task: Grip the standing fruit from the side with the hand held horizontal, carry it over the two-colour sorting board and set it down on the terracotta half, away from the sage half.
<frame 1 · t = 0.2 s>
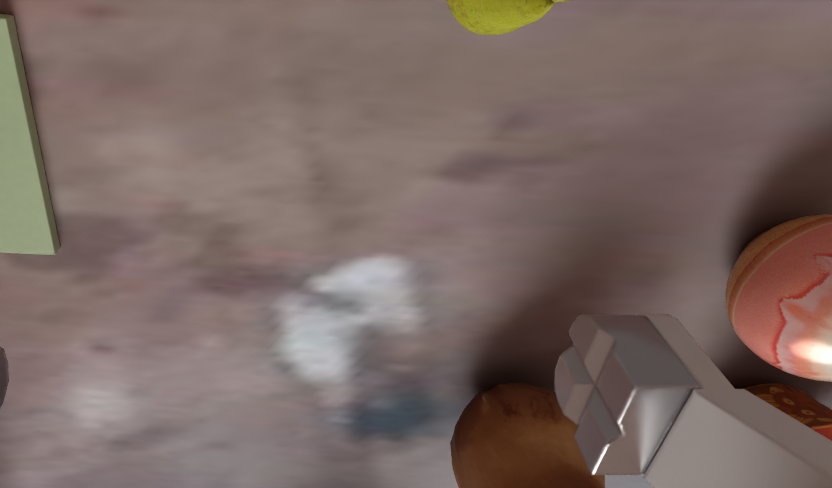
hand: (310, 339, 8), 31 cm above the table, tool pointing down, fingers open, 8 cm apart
vase: (768, 255, 51), on the table
butternut squash: (503, 400, 57), on the table
bowl: (728, 418, 64), on the table
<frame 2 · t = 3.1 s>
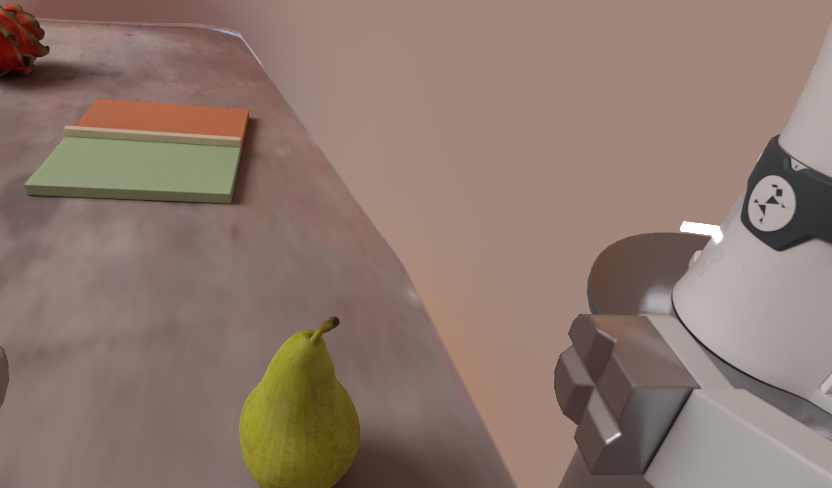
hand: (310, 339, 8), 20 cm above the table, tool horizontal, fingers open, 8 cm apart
sorting board: (157, 149, 56), on the table
fruit: (297, 476, 29), on the table
dragon fruit: (8, 75, 66), on the table
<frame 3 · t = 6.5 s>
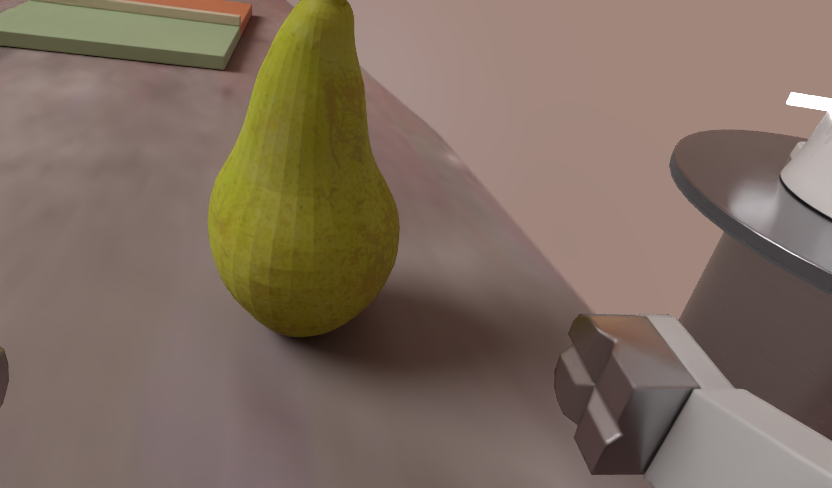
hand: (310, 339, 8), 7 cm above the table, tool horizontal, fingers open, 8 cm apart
sorting board: (140, 25, 47), on the table
fruit: (299, 320, 19), on the table
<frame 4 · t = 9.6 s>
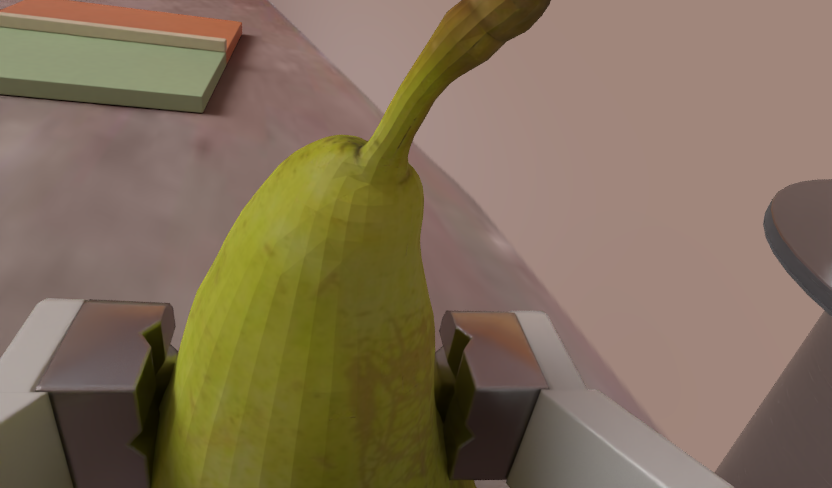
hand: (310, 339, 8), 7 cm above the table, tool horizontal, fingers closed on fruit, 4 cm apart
sorting board: (105, 52, 39), on the table
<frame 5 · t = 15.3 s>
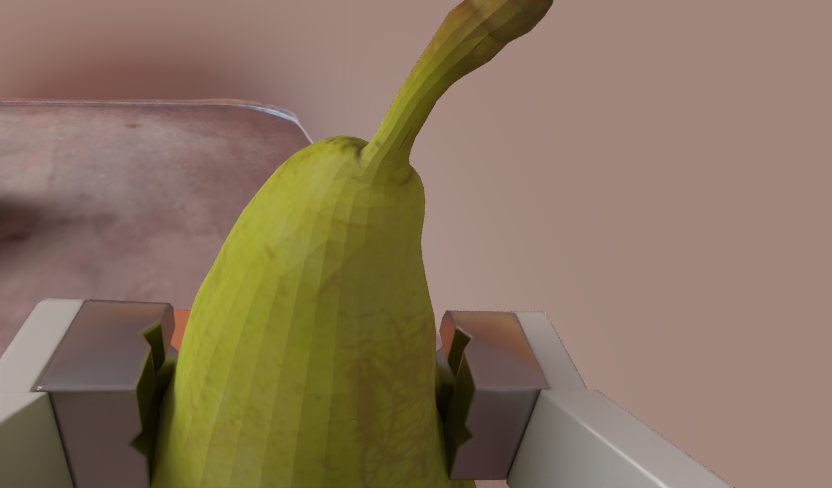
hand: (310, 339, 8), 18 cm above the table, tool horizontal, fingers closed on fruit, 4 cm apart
sorting board: (172, 467, 26), on the table
when the fingers open (7 cm above the table, at t = 20.8 s): fruit stays where it is, resting on sorting board.
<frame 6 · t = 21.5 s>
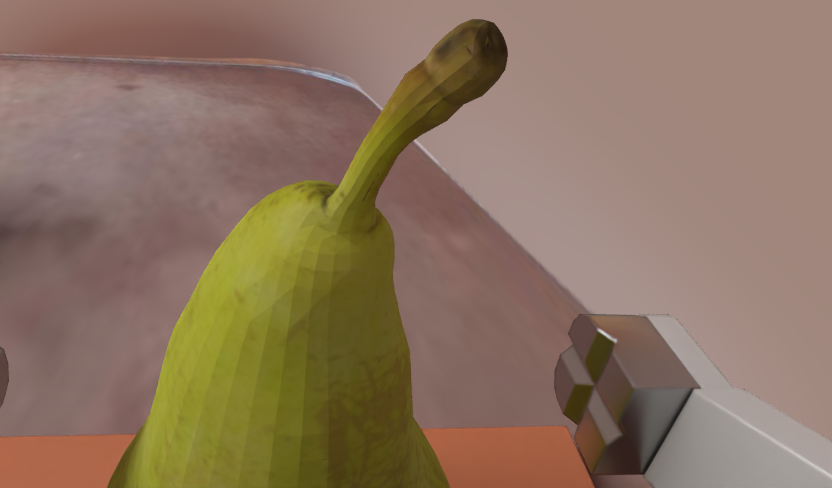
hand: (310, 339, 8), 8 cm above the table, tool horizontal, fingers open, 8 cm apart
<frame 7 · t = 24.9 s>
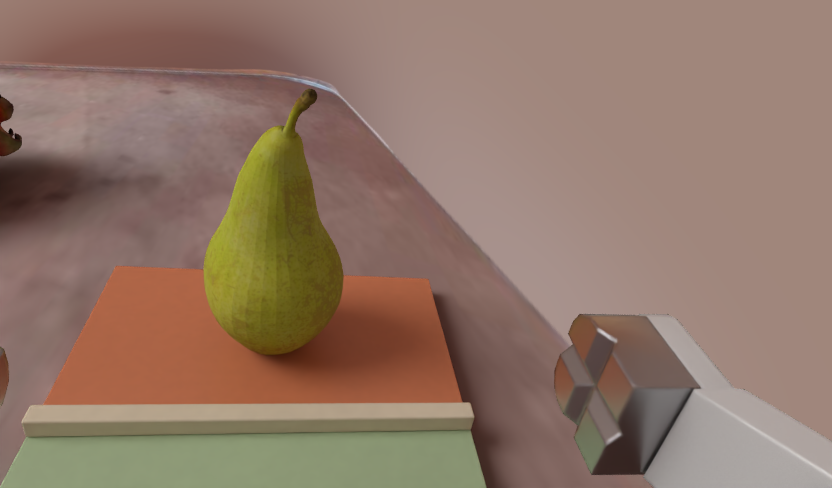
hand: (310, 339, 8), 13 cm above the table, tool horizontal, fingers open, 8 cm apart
sorting board: (266, 442, 22), on the table
fruit: (272, 341, 25), point 1 cm above the table, touching sorting board
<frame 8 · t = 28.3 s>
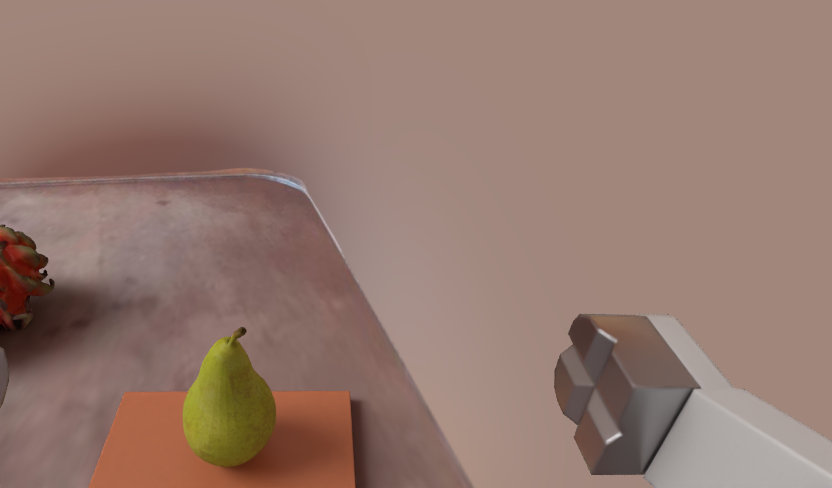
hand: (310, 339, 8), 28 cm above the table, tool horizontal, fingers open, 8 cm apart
fruit: (230, 451, 37), point 1 cm above the table, touching sorting board
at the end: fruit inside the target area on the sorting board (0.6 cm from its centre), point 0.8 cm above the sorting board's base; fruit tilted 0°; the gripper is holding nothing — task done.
